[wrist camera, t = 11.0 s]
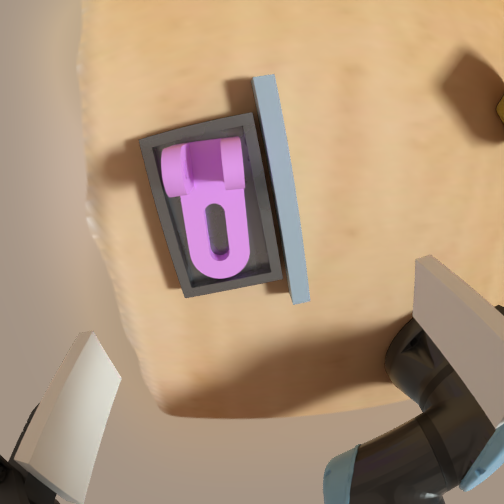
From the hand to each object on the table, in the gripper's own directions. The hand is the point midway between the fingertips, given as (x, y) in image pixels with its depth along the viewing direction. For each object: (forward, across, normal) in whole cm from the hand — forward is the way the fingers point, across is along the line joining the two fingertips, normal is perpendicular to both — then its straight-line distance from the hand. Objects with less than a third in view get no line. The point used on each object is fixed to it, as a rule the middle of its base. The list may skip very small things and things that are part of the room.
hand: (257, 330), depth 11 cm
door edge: (+19, +4, 0) cm, 20 cm away
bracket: (+19, -2, 0) cm, 19 cm away
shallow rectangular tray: (+19, -2, 0) cm, 20 cm away
